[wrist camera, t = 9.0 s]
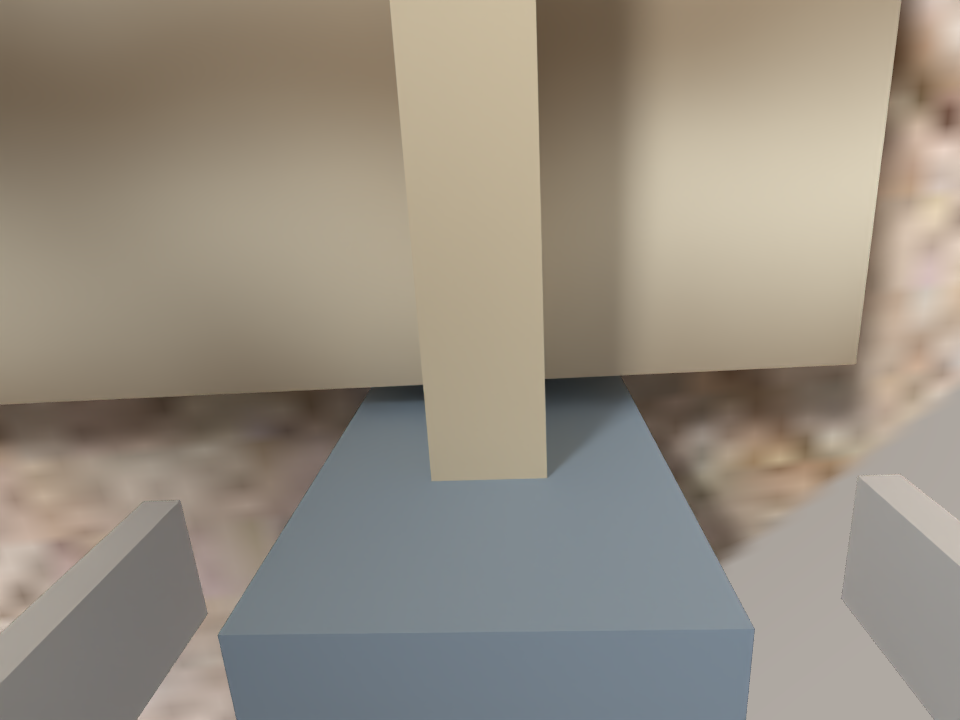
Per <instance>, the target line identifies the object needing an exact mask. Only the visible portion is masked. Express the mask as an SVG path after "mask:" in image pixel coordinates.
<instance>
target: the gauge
mask: <svg viewBox="0 0 960 720" xmlns="http://www.w3.org/2000/svg"><path fill="white" fill-rule="evenodd" d="M390 11H391V22H392V34H393V45H394V57H395V68H396V80H397V91H398V103H399V114H400V126H401V137H402V149H403V160H404V172H405V183H406V195H407V206H408V218H409V229H410V241H411V252H412V263H413V275H414V286H415V298H416V309H417V321H418V332H419V344H420V355H421V367H422V378H423V385H408V386H387V387H372V388H371V389H370V391H369V393H368V394H367V396H366V397H365V399H364V401H363V402H362V404H361V405H360V407H359V409H358V410H357V412H356V413H355V415H354V417H353V418H352V420H351V421H350V423H349V425H348V426H347V428H346V430H345V431H344V433H343V434H342V436H341V438H340V439H339V441H338V442H337V444H336V446H335V447H334V449H333V450H332V452H331V454H330V455H329V457H328V459H327V460H326V462H325V463H324V465H323V467H322V468H321V470H320V471H319V473H318V475H317V476H316V478H315V479H314V481H313V483H312V484H311V486H310V487H309V489H308V491H307V492H306V494H305V496H304V497H303V499H302V500H301V502H300V504H299V505H298V507H297V508H296V510H295V512H294V513H293V515H292V516H291V518H290V520H289V521H288V523H287V525H286V526H285V528H284V529H283V531H282V533H281V534H280V536H279V537H278V539H277V541H276V542H275V544H274V545H273V547H272V549H271V550H270V552H269V553H268V555H267V557H266V558H265V560H264V562H263V563H262V565H261V566H260V568H259V570H258V571H257V573H256V574H255V576H254V578H253V579H252V581H251V582H250V584H249V586H248V587H247V589H246V591H245V592H244V594H243V595H242V597H241V599H240V600H239V602H238V603H237V605H236V607H235V608H234V610H233V611H232V613H231V615H230V616H229V618H228V619H227V621H226V623H225V624H224V626H223V628H222V629H221V631H220V632H219V634H218V639H219V643H220V648H221V652H222V657H223V661H224V666H225V670H226V674H227V679H228V683H229V688H230V692H231V697H232V701H233V706H234V710H235V715H236V719H237V720H746V713H747V702H748V692H749V682H750V672H751V661H752V651H753V641H754V630H755V629H754V627H753V625H752V623H751V622H750V619H749V618H748V615H747V614H746V612H745V610H744V608H743V607H742V604H741V602H740V600H739V599H738V597H737V595H736V593H735V591H734V589H733V587H732V585H731V583H730V582H729V580H728V578H727V576H726V574H725V572H724V570H723V568H722V566H721V565H720V563H719V561H718V559H717V557H716V555H715V553H714V551H713V550H712V548H711V546H710V544H709V542H708V540H707V538H706V536H705V534H704V533H703V531H702V529H701V527H700V525H699V523H698V521H697V519H696V518H695V516H694V514H693V512H692V510H691V508H690V506H689V504H688V502H687V501H686V499H685V497H684V495H683V493H682V491H681V489H680V487H679V485H678V484H677V482H676V480H675V478H674V476H673V474H672V472H671V470H670V469H669V467H668V465H667V463H666V461H665V459H664V457H663V455H662V453H661V452H660V450H659V448H658V446H657V444H656V442H655V440H654V438H653V436H652V435H651V433H650V431H649V429H648V427H647V425H646V423H645V421H644V420H643V418H642V416H641V414H640V412H639V410H638V408H637V406H636V404H635V403H634V401H633V399H632V397H631V395H630V393H629V391H628V389H627V387H626V386H625V384H624V382H623V380H622V378H621V376H599V377H578V378H556V379H545V367H544V325H543V282H542V240H541V198H540V155H539V113H538V71H537V28H536V0H390Z"/></svg>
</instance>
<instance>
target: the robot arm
mask: <svg viewBox="0 0 960 720" xmlns="http://www.w3.org/2000/svg"><path fill="white" fill-rule="evenodd" d="M841 599H842V600H843V601H844V603H845V604H846V605H847V607H848V608H849V609H850V611H851V612H852V613H853V614H854V616H855V617H856V618H857V620H858V621H859V622H860V623H861V625H862V626H863V628H864V629H865V630H866V631H867V633H868V634H869V635H870V637H871V638H872V639H873V641H874V642H875V643H876V644H877V646H878V647H879V648H880V650H881V651H882V652H883V653H884V655H885V656H886V657H887V659H888V660H889V661H890V663H891V664H892V665H893V666H894V668H895V669H896V671H897V672H898V673H899V674H900V676H901V677H902V678H903V680H904V681H905V682H906V683H907V685H908V686H909V687H910V689H911V690H912V691H913V693H914V694H915V695H916V697H917V698H918V699H919V700H920V702H921V703H922V704H923V705H924V707H925V708H926V710H927V711H928V712H929V714H930V715H931V716H932V717H933V719H934V720H960V521H959V520H958V519H957V518H955V517H954V516H953V515H952V514H950V513H949V512H948V511H946V510H945V509H944V508H943V507H941V506H940V505H939V504H938V503H936V502H935V501H934V500H933V499H931V498H930V497H929V496H927V495H926V494H925V493H924V492H922V491H921V490H920V489H919V488H917V487H916V486H915V485H913V484H912V483H911V482H910V481H908V480H907V479H906V478H904V477H903V476H902V475H901V474H891V475H866V476H865V475H864V476H858V478H857V487H856V493H855V501H854V508H853V516H852V523H851V531H850V538H849V546H848V553H847V560H846V568H845V575H844V583H843V590H842V598H841ZM207 614H208V613H207V609H206V605H205V600H204V596H203V592H202V588H201V584H200V580H199V576H198V571H197V567H196V563H195V559H194V555H193V551H192V547H191V542H190V538H189V534H188V530H187V526H186V522H185V518H184V513H183V509H182V505H181V501H180V500H171V501H144V502H142V503H141V504H140V505H139V506H138V507H137V508H136V509H135V510H134V511H133V512H132V513H130V514H129V515H128V516H127V517H126V518H125V519H124V520H123V521H122V522H121V523H120V524H119V525H117V526H116V527H115V528H114V529H113V530H112V531H111V532H110V533H109V534H108V535H107V536H105V537H104V538H103V539H102V540H101V541H100V542H99V543H98V544H97V545H96V546H95V547H94V548H92V549H91V550H90V551H89V552H88V553H87V554H86V555H85V556H84V557H83V558H82V559H81V560H79V561H78V562H77V563H76V564H75V565H74V566H73V567H72V568H71V569H70V570H69V571H67V572H66V573H65V574H64V575H63V576H62V577H61V578H60V579H59V580H58V581H57V582H56V583H54V584H53V585H52V586H51V587H50V588H49V589H48V590H47V591H46V592H45V593H44V594H42V595H41V596H40V597H39V598H38V599H37V600H36V601H35V602H34V603H33V604H32V605H31V606H29V607H28V608H27V609H26V610H25V611H24V612H23V613H22V614H21V615H20V616H19V617H17V618H16V619H15V620H14V621H13V622H12V623H11V624H10V625H9V626H8V627H7V628H6V629H4V630H3V631H2V632H1V633H0V720H137V719H138V717H139V716H140V714H141V713H142V711H143V710H144V708H145V707H146V705H147V704H148V702H149V701H150V699H151V698H152V696H153V695H154V693H155V692H156V690H157V689H158V687H159V686H160V684H161V683H162V681H163V680H164V678H165V677H166V675H167V674H168V672H169V671H170V669H171V668H172V666H173V665H174V663H175V662H176V660H177V659H178V657H179V656H180V654H181V653H182V652H183V650H184V649H185V647H186V646H187V644H188V643H189V641H190V640H191V638H192V637H193V635H194V634H195V632H196V631H197V629H198V628H199V626H200V625H201V623H202V622H203V620H204V619H205V617H206V616H207Z"/></svg>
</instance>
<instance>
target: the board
mask: <svg viewBox="0 0 960 720" xmlns="http://www.w3.org/2000/svg"><path fill="white" fill-rule="evenodd" d="M900 8H901V0H536V28H537V71H538V113H539V155H540V198H541V240H542V282H543V325H544V367H545V379H556V378H578V377H599V376H620V375H641V374H662V373H684V372H705V371H726V370H747V369H769V368H790V367H811V366H832V365H853V364H856V360H857V352H858V344H859V336H860V328H861V320H862V312H863V304H864V296H865V288H866V280H867V272H868V264H869V256H870V248H871V240H872V232H873V224H874V216H875V208H876V200H877V192H878V184H879V176H880V168H881V160H882V152H883V144H884V136H885V128H886V120H887V112H888V104H889V96H890V88H891V80H892V72H893V64H894V56H895V48H896V40H897V32H898V24H899V16H900ZM408 385H423V378H422V367H421V355H420V344H419V332H418V321H417V309H416V298H415V286H414V275H413V263H412V252H411V241H410V229H409V218H408V206H407V195H406V183H405V172H404V160H403V149H402V137H401V126H400V114H399V103H398V91H397V80H396V68H395V57H394V45H393V34H392V22H391V11H390V0H0V405H5V404H26V403H47V402H68V401H90V400H111V399H132V398H153V397H175V396H196V395H217V394H238V393H259V392H281V391H302V390H323V389H344V388H365V387H387V386H408Z"/></svg>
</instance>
